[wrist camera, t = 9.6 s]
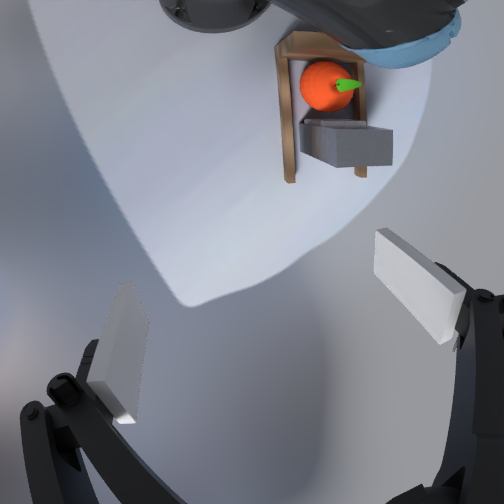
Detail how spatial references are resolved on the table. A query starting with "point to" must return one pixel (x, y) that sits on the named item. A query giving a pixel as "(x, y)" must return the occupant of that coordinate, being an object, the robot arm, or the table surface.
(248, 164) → the table surface
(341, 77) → the clementine
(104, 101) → the table surface
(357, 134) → the block
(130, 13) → the table surface
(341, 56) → the frame
